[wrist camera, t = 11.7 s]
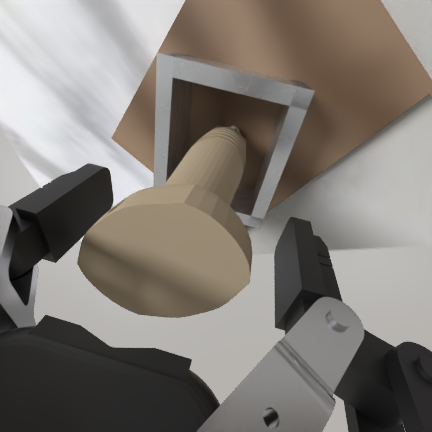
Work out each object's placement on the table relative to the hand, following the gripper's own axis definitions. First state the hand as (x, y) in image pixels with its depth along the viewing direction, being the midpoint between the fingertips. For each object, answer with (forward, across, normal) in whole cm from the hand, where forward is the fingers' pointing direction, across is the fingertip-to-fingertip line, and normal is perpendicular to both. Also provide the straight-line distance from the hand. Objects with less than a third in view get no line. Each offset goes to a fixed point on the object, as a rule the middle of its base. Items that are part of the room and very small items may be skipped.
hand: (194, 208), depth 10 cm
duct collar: (+13, 0, 0) cm, 13 cm away
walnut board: (+13, -1, -1) cm, 13 cm away
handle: (+12, 0, +1) cm, 12 cm away
